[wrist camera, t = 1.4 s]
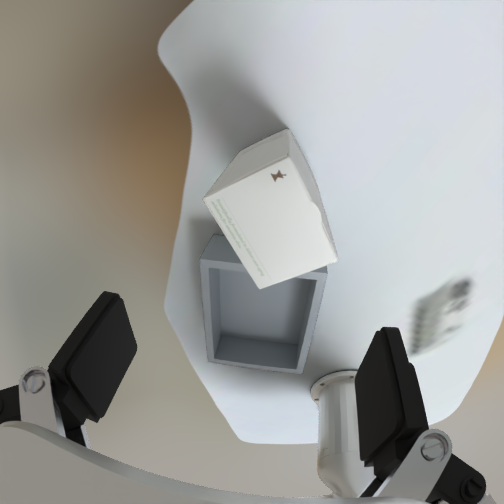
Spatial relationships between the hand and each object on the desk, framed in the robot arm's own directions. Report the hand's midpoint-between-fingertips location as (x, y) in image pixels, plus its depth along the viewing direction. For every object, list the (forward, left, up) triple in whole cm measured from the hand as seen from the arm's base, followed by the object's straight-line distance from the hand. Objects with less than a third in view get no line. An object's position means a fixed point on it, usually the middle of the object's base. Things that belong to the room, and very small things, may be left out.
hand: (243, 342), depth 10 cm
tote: (-18, +1, -25) cm, 31 cm away
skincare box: (0, 0, -26) cm, 26 cm away
